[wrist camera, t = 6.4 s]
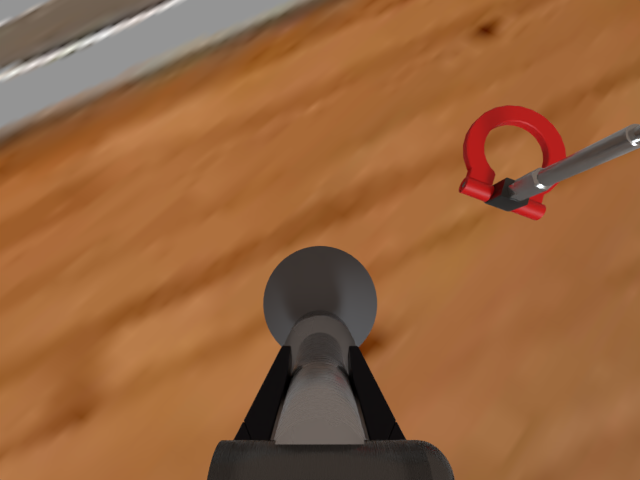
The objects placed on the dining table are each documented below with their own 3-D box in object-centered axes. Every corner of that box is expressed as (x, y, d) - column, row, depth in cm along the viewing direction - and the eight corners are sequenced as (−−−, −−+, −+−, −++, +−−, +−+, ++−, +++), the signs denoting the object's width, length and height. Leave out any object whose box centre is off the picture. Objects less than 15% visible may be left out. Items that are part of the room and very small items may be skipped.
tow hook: (475, 99, 26) (445, 192, 24) (635, -83, 13) (592, 88, 11) (565, 132, 25) (540, 227, 24) (819, -23, 13) (798, 161, 11)
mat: (394, 277, 23) (396, 277, 23) (345, 380, 22) (345, 383, 22) (296, 228, 24) (296, 226, 23) (244, 326, 23) (242, 328, 22)
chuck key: (366, 375, 20) (473, 613, 6) (283, 375, 20) (200, 613, 6) (365, 310, 20) (461, 391, 6) (284, 310, 20) (209, 391, 6)
